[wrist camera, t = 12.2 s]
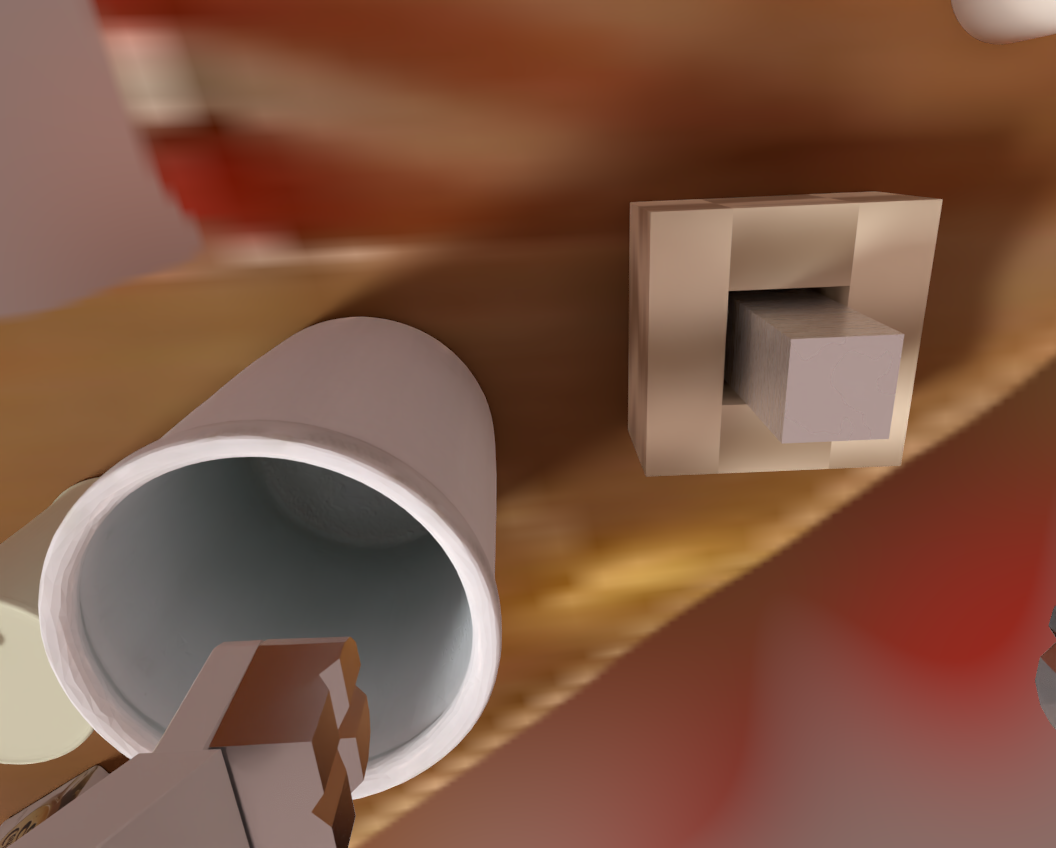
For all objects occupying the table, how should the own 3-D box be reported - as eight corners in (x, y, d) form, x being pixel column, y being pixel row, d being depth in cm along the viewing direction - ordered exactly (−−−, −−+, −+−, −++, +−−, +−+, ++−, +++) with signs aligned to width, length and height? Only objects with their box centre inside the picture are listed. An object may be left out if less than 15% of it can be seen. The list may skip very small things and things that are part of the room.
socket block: (629, 202, 35) (650, 211, 30) (875, 191, 35) (942, 199, 30) (627, 430, 39) (646, 476, 34) (846, 420, 39) (900, 465, 34)
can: (180, 465, 40) (48, 587, 29) (228, 603, 43) (126, 762, 32) (21, 486, 40) (-171, 616, 29) (80, 622, 44) (-72, 785, 32)
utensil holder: (545, 509, 41) (563, 747, 25) (311, 588, 43) (183, 858, 27) (446, 265, 36) (387, 361, 20) (186, 365, 38) (-67, 529, 22)
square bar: (708, 281, 37) (791, 338, 25) (786, 277, 37) (904, 334, 25) (704, 356, 38) (781, 443, 27) (780, 353, 38) (888, 438, 27)
